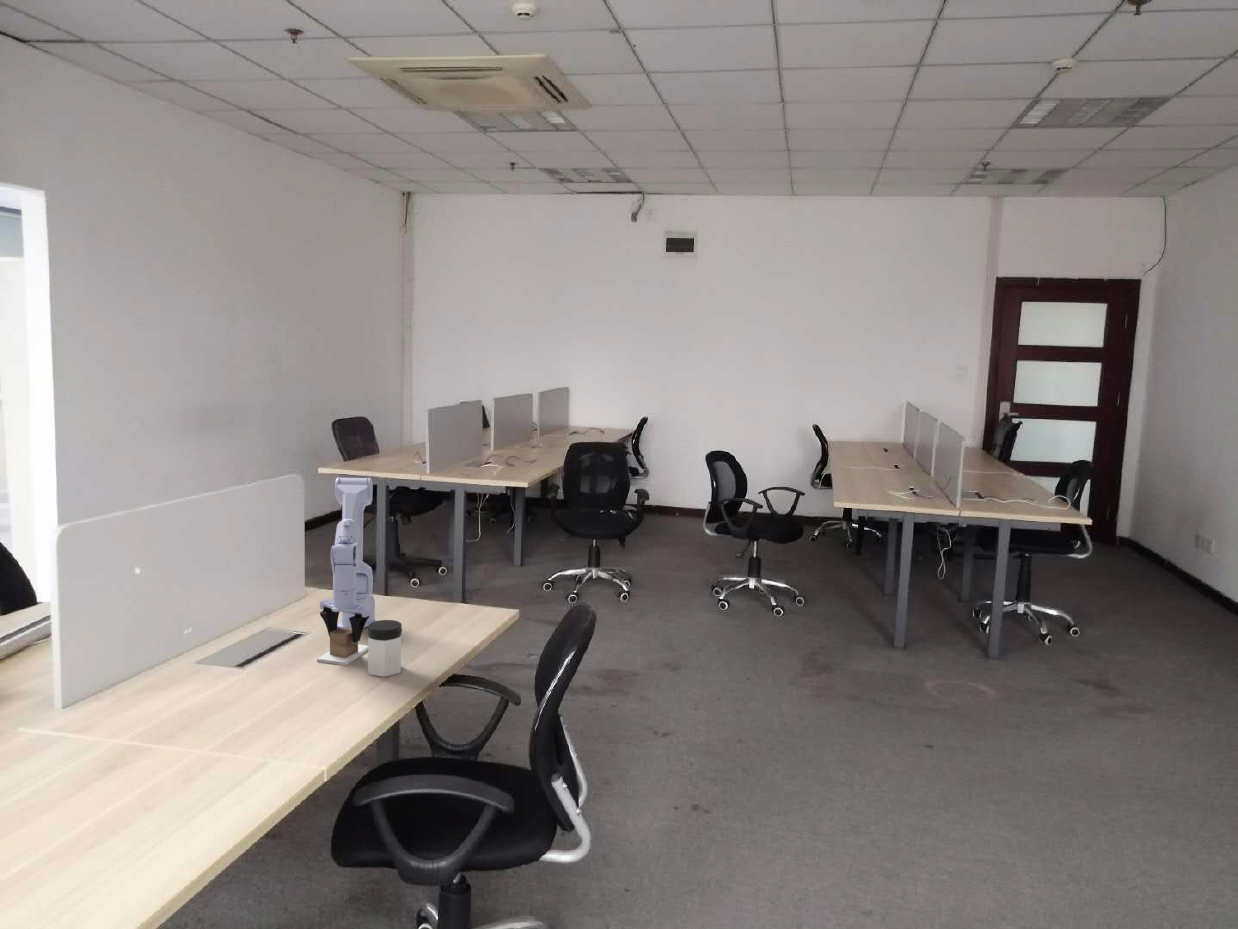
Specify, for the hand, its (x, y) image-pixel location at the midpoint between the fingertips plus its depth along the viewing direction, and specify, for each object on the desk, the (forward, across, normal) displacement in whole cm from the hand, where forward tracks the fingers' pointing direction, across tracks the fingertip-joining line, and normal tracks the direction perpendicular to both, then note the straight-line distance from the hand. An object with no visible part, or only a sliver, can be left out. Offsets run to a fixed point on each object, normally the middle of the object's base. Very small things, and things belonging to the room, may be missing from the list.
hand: (344, 638), depth 218 cm
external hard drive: (+6, 0, 0) cm, 6 cm away
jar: (+5, +15, -3) cm, 16 cm away
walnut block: (+4, 0, 0) cm, 4 cm away
